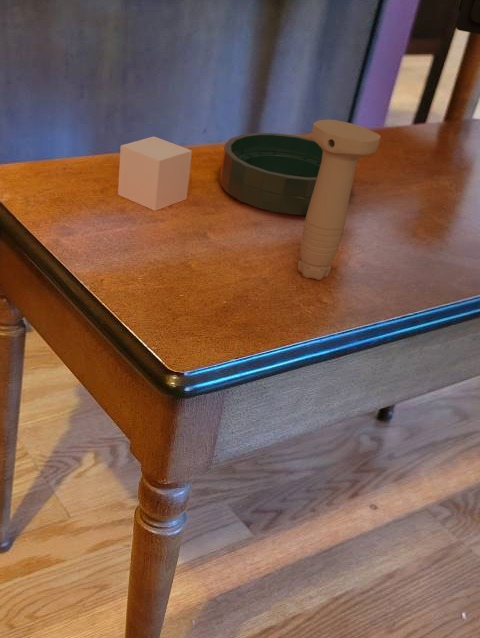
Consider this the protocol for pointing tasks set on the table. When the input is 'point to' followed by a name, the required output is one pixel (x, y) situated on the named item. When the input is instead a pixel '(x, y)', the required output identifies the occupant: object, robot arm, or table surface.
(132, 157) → the beige cube
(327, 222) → the handle
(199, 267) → the table surface
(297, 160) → the bowl
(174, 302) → the table surface
